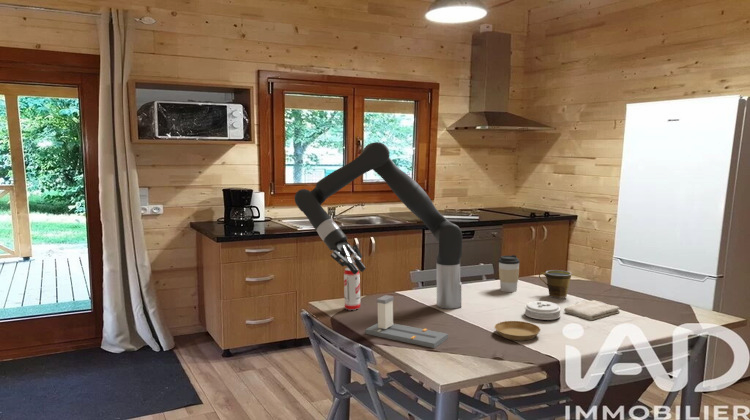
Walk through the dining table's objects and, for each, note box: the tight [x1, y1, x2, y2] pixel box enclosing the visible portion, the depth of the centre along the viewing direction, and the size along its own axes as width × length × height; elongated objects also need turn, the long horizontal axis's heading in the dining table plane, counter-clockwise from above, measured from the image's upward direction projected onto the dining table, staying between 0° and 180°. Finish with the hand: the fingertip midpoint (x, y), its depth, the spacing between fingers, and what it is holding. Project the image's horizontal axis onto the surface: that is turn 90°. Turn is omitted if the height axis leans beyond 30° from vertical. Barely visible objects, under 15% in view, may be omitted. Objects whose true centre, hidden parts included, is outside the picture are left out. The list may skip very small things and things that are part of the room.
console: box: [365, 322, 449, 349], centre depth 176 cm, size 26×10×2 cm, turn 57°
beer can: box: [343, 267, 361, 311], centre depth 206 cm, size 6×6×16 cm
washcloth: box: [563, 299, 620, 321], centre depth 197 cm, size 12×18×3 cm, turn 122°
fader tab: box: [376, 294, 395, 329], centre depth 180 cm, size 3×5×10 cm, turn 147°
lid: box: [524, 300, 562, 321], centre depth 194 cm, size 13×13×5 cm
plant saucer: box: [494, 320, 541, 342], centre depth 175 cm, size 15×15×3 cm
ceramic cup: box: [538, 269, 572, 300], centre depth 219 cm, size 13×10×10 cm
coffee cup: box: [497, 254, 520, 293], centre depth 229 cm, size 9×9×15 cm
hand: (360, 271), depth 183 cm, fingers open, 3 cm apart
